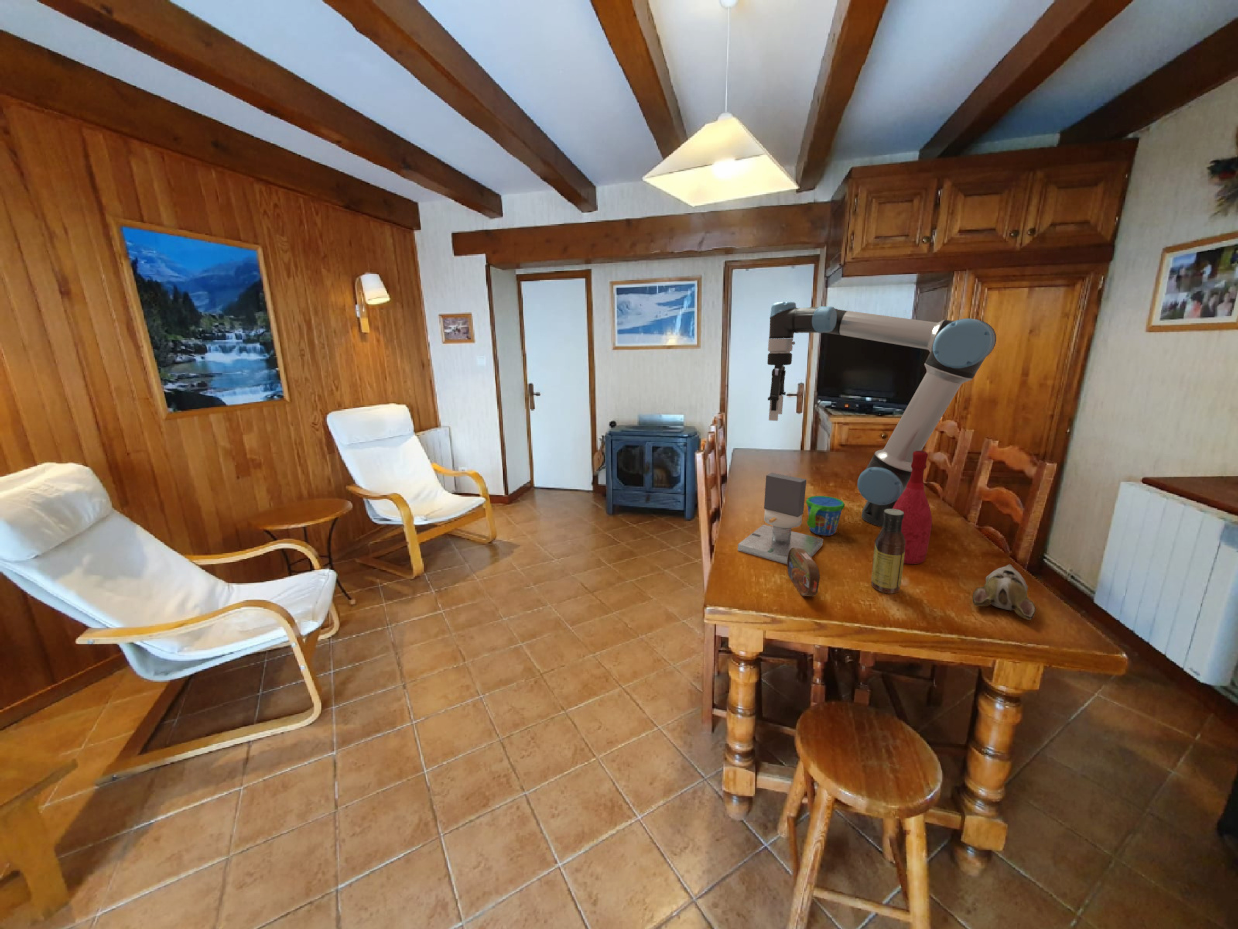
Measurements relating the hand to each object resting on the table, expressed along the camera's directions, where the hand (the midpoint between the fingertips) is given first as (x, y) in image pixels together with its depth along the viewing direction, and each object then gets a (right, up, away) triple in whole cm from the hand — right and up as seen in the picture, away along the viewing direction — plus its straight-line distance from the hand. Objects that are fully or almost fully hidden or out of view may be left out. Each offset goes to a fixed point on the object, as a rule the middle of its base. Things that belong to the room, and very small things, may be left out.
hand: (775, 417), depth 157 cm
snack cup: (+11, -37, -12) cm, 40 cm away
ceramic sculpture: (+33, -48, -52) cm, 78 cm away
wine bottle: (+25, -42, -30) cm, 57 cm away
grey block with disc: (-7, -32, -25) cm, 42 cm away
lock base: (-6, -40, -22) cm, 46 cm away
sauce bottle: (+11, -46, -45) cm, 65 cm away
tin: (-8, -46, -43) cm, 63 cm away
